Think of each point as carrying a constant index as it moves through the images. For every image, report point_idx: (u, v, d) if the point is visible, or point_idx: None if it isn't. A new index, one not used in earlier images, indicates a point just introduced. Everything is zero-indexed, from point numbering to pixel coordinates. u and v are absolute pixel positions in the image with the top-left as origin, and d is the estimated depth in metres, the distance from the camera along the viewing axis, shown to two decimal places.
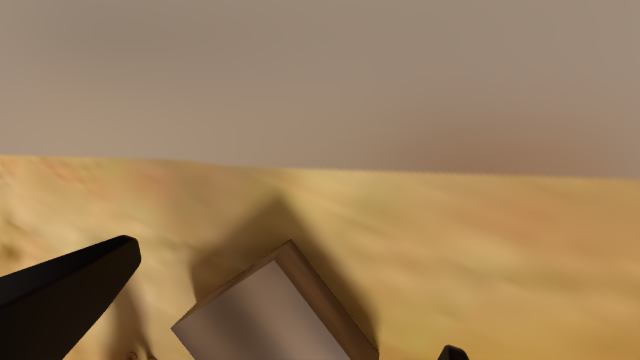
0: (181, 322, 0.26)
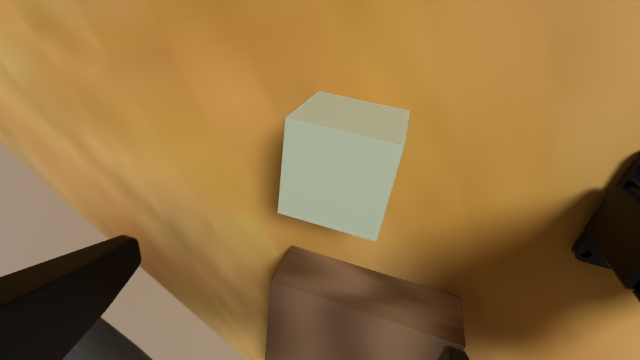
0: None
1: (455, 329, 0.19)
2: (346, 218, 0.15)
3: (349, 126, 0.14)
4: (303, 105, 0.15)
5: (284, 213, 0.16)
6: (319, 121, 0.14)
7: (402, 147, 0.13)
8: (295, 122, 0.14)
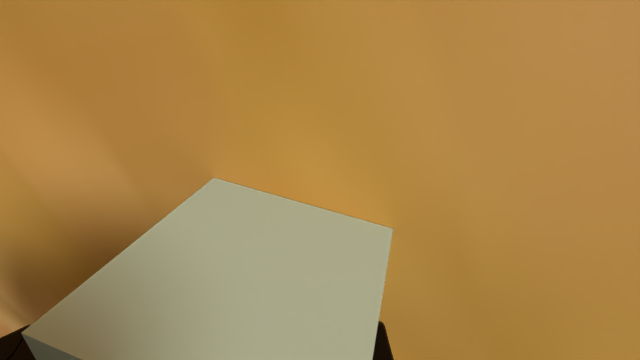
0: None
1: None
2: None
3: (208, 356, 0.05)
4: (133, 248, 0.06)
5: None
6: (125, 335, 0.05)
7: None
8: (51, 345, 0.05)
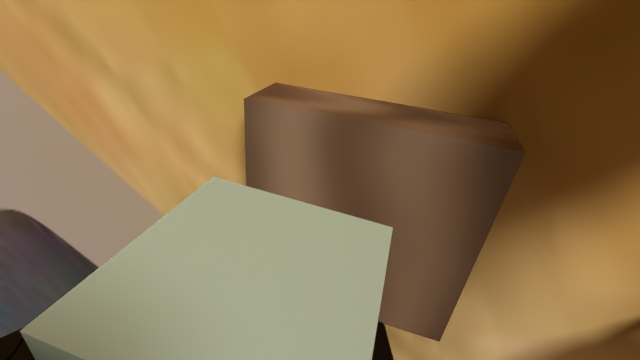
0: (415, 332, 0.19)
1: (506, 140, 0.13)
2: None
3: (207, 354, 0.05)
4: (132, 246, 0.06)
5: None
6: (123, 334, 0.05)
7: None
8: (50, 344, 0.05)
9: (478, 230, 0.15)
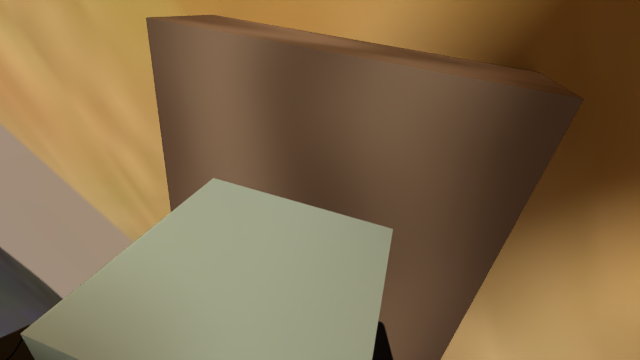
0: None
1: (548, 86, 0.08)
2: None
3: (207, 357, 0.05)
4: (132, 248, 0.06)
5: None
6: (124, 336, 0.05)
7: None
8: (50, 346, 0.05)
9: (495, 228, 0.10)
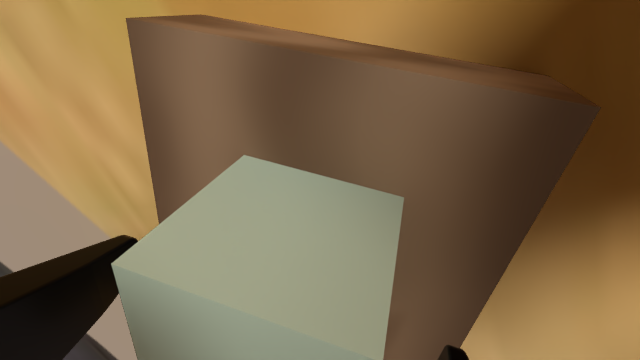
0: None
1: (560, 92, 0.08)
2: None
3: (261, 283, 0.06)
4: (186, 206, 0.08)
5: None
6: (192, 268, 0.06)
7: None
8: (134, 274, 0.06)
9: (501, 244, 0.09)
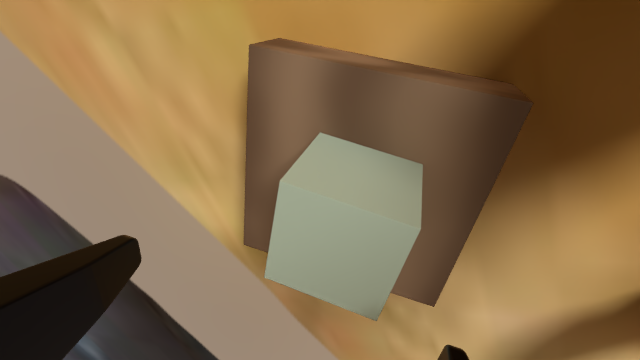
0: (410, 297, 0.19)
1: (514, 94, 0.13)
2: (344, 293, 0.13)
3: (356, 196, 0.11)
4: (301, 158, 0.13)
5: (272, 279, 0.14)
6: (320, 186, 0.11)
7: (418, 230, 0.11)
8: (291, 187, 0.11)
9: (480, 187, 0.15)
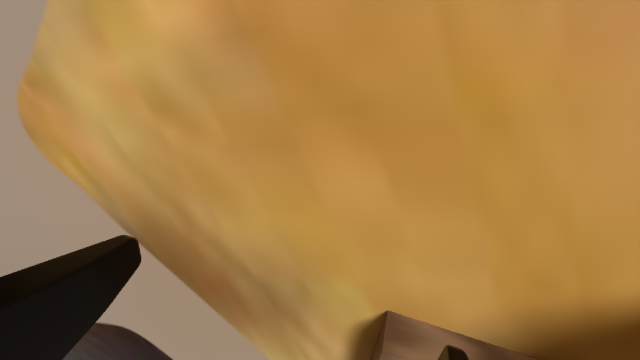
0: None
1: None
2: None
3: None
4: None
5: None
6: None
7: None
8: None
9: None
